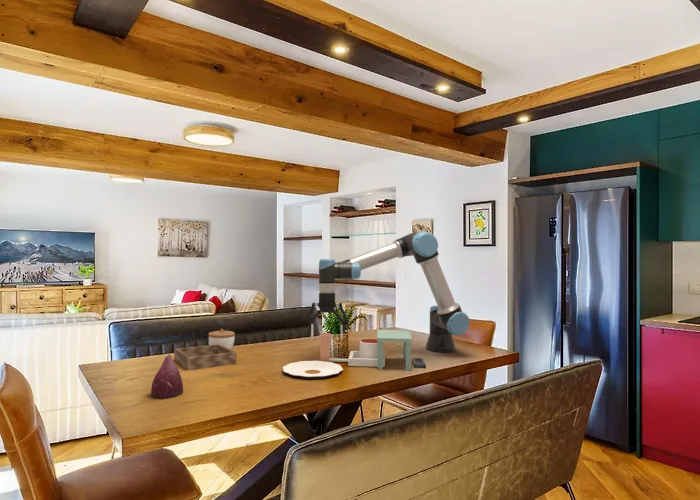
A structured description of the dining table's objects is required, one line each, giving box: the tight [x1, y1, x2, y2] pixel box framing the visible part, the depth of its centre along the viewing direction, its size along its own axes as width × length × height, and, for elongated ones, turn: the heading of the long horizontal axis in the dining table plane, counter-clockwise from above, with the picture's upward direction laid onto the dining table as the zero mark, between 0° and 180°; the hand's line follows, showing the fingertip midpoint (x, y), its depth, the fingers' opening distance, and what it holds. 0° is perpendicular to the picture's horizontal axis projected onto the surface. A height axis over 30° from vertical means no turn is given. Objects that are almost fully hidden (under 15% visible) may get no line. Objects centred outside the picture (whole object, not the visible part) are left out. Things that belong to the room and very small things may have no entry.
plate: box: [282, 360, 344, 379], centre depth 191 cm, size 25×25×2 cm
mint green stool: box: [376, 329, 413, 371], centre depth 207 cm, size 15×21×14 cm
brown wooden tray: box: [173, 344, 237, 371], centre depth 205 cm, size 21×21×5 cm
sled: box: [319, 332, 386, 368], centre depth 208 cm, size 29×16×12 cm, turn 86°
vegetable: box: [150, 353, 184, 400], centre depth 160 cm, size 10×10×15 cm
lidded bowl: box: [208, 328, 236, 350], centre depth 227 cm, size 13×13×11 cm
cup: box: [359, 338, 378, 359], centre depth 208 cm, size 10×10×10 cm
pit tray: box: [411, 357, 427, 369], centre depth 206 cm, size 5×12×2 cm, turn 176°
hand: (327, 338), depth 210 cm, fingers open, 13 cm apart
